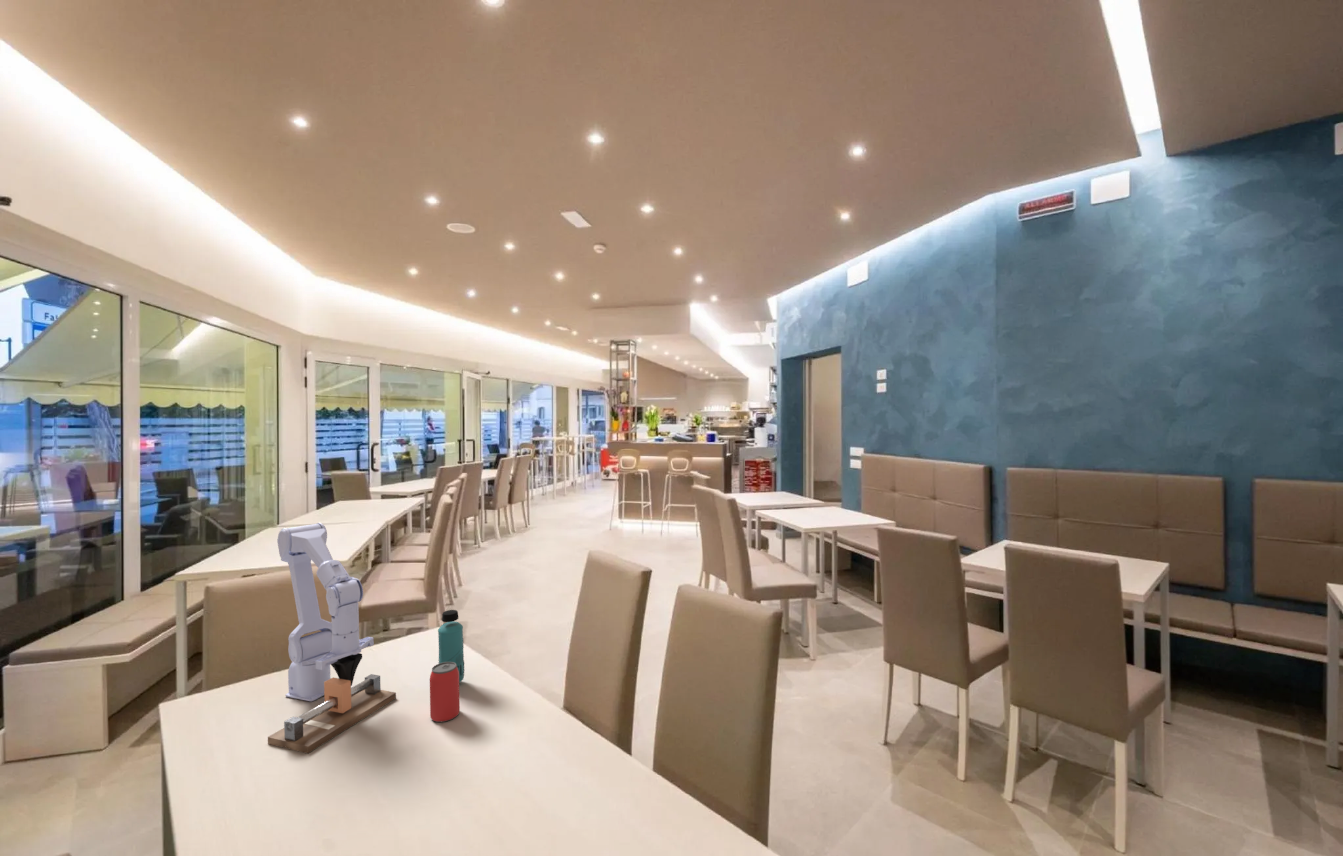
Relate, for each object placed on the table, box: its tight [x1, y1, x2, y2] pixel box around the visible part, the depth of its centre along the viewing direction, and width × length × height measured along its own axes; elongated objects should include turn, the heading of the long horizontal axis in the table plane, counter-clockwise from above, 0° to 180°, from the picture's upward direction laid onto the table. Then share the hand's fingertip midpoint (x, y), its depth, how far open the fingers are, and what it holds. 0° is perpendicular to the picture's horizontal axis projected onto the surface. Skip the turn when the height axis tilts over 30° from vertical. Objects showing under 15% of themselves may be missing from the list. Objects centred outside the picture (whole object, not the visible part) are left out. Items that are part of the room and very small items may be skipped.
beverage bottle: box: [437, 609, 466, 683], centre depth 147 cm, size 6×7×20 cm
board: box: [267, 689, 397, 754], centre depth 131 cm, size 12×24×2 cm, turn 162°
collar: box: [323, 677, 352, 713], centre depth 131 cm, size 6×2×7 cm, turn 72°
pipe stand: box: [283, 673, 382, 742], centre depth 131 cm, size 3×23×4 cm, turn 162°
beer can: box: [429, 662, 461, 723], centre depth 132 cm, size 7×7×12 cm
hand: (346, 685), depth 133 cm, fingers closed
